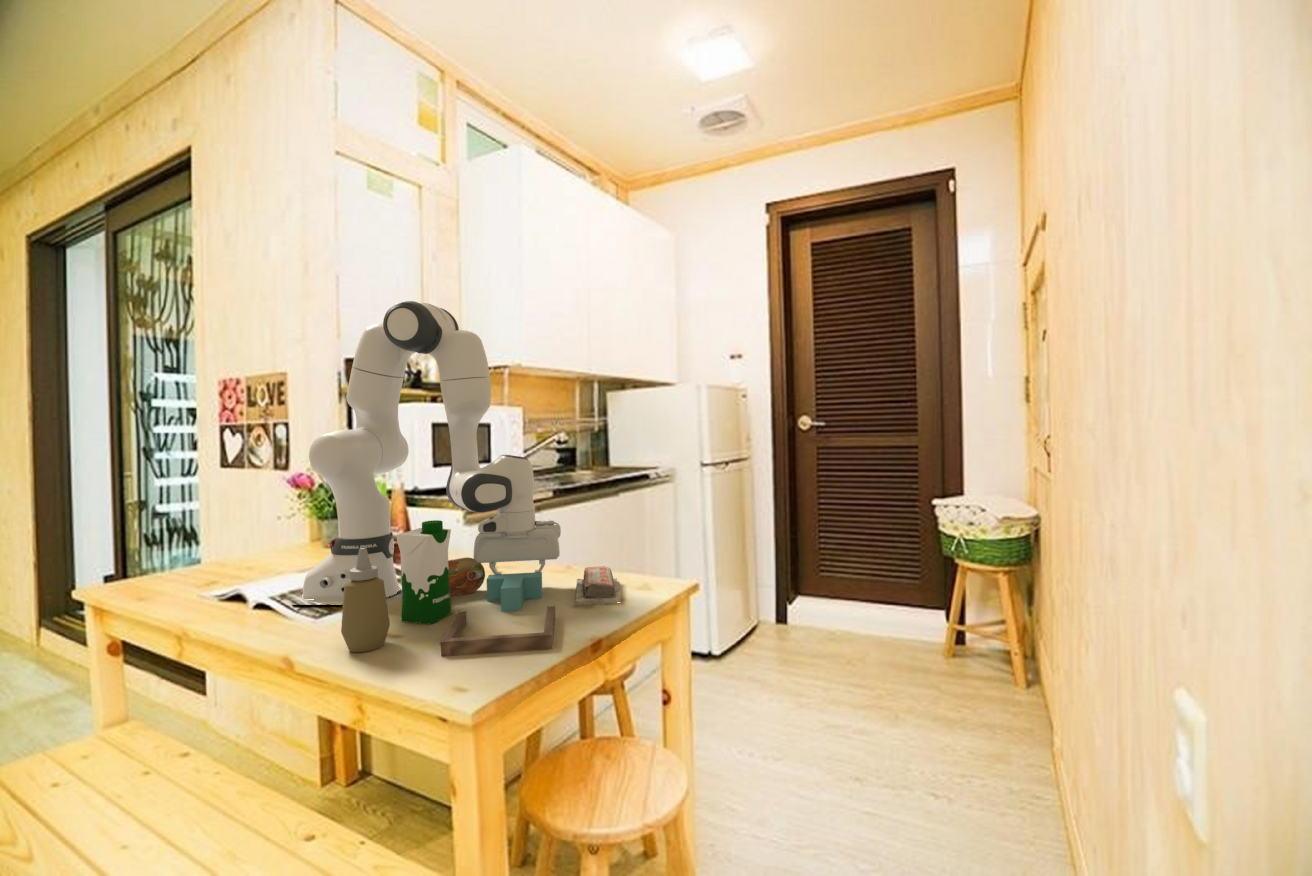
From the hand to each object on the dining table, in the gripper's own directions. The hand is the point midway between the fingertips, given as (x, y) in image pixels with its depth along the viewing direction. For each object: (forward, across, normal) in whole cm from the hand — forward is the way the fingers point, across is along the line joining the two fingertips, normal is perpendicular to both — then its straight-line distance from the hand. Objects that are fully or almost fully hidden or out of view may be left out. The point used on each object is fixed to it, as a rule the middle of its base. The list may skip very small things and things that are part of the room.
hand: (518, 579), depth 148 cm
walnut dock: (+2, 0, +32) cm, 32 cm away
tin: (+2, +15, +3) cm, 15 cm away
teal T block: (+2, 0, +12) cm, 12 cm away
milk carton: (+2, +17, +19) cm, 25 cm away
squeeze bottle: (+2, +24, +34) cm, 42 cm away
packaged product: (+3, -19, +8) cm, 21 cm away
